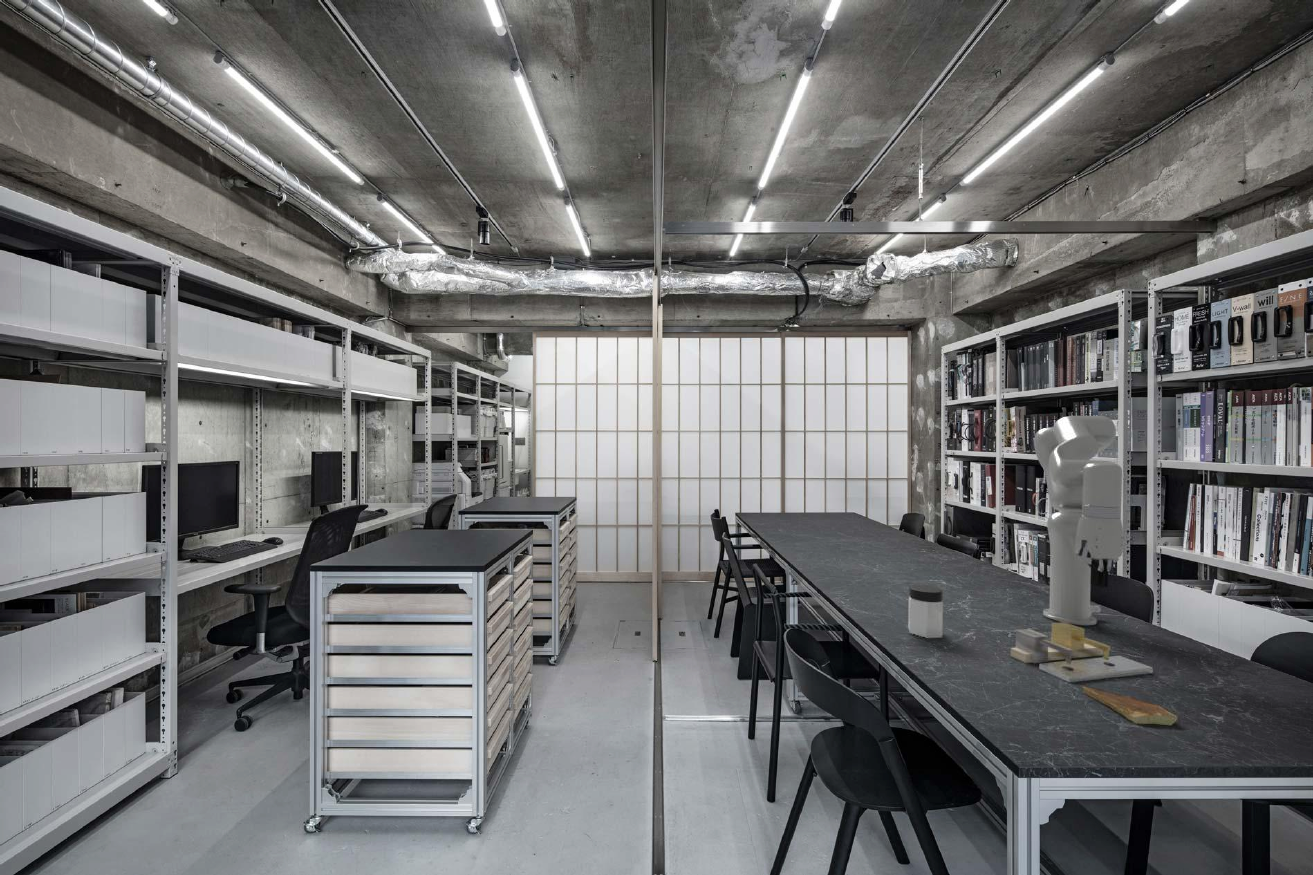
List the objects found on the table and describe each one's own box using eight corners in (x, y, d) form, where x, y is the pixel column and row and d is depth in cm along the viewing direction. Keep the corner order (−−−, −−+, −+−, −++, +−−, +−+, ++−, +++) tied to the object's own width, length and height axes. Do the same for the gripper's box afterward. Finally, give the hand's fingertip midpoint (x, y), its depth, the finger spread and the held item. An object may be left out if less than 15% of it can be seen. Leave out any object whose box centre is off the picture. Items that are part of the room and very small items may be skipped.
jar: (948, 634, 147) (949, 589, 147) (935, 641, 141) (936, 594, 142) (915, 625, 154) (916, 582, 154) (901, 631, 148) (901, 586, 148)
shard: (1080, 692, 114) (1080, 682, 114) (1127, 695, 114) (1127, 684, 114) (1131, 725, 101) (1131, 714, 101) (1184, 728, 101) (1185, 716, 101)
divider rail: (1085, 648, 139) (1086, 624, 139) (1137, 667, 127) (1138, 641, 127) (1008, 655, 133) (1009, 630, 133) (1056, 676, 121) (1056, 649, 121)
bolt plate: (1119, 660, 131) (1119, 655, 131) (1152, 672, 124) (1152, 667, 124) (1039, 668, 125) (1039, 663, 125) (1069, 682, 118) (1069, 676, 118)
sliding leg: (1064, 641, 137) (1064, 622, 137) (1114, 660, 125) (1115, 639, 125) (1051, 642, 136) (1051, 623, 136) (1101, 661, 124) (1101, 640, 124)
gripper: (1108, 509, 142) (1106, 579, 143) (1063, 511, 139) (1061, 583, 139) (1140, 514, 135) (1138, 588, 136) (1093, 516, 131) (1091, 592, 132)
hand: (1099, 585), depth 137 cm, fingers closed
